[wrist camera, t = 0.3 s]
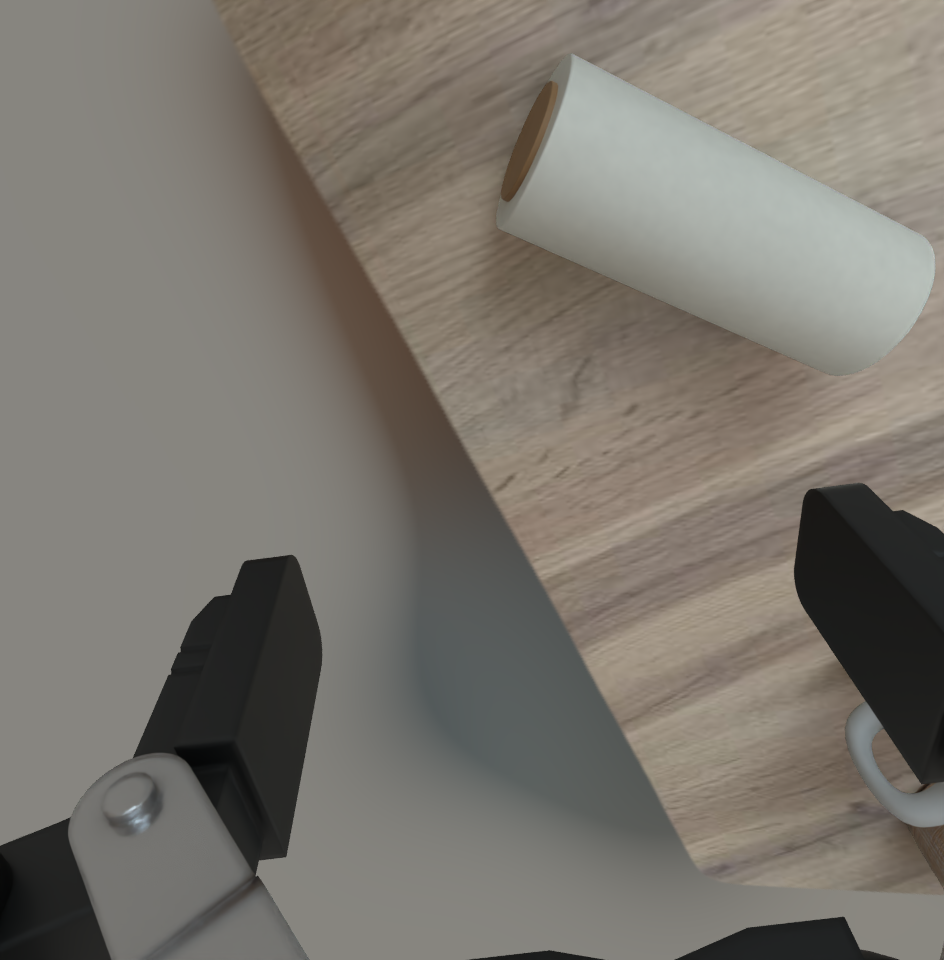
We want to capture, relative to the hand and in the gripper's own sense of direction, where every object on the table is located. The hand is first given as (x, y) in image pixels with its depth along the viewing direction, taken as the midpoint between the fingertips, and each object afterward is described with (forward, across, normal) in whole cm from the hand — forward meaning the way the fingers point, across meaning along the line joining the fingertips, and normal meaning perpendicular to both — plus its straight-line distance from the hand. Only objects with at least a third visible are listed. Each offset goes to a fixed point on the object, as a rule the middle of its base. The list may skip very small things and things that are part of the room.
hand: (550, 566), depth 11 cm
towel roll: (+19, -8, -1) cm, 21 cm away
